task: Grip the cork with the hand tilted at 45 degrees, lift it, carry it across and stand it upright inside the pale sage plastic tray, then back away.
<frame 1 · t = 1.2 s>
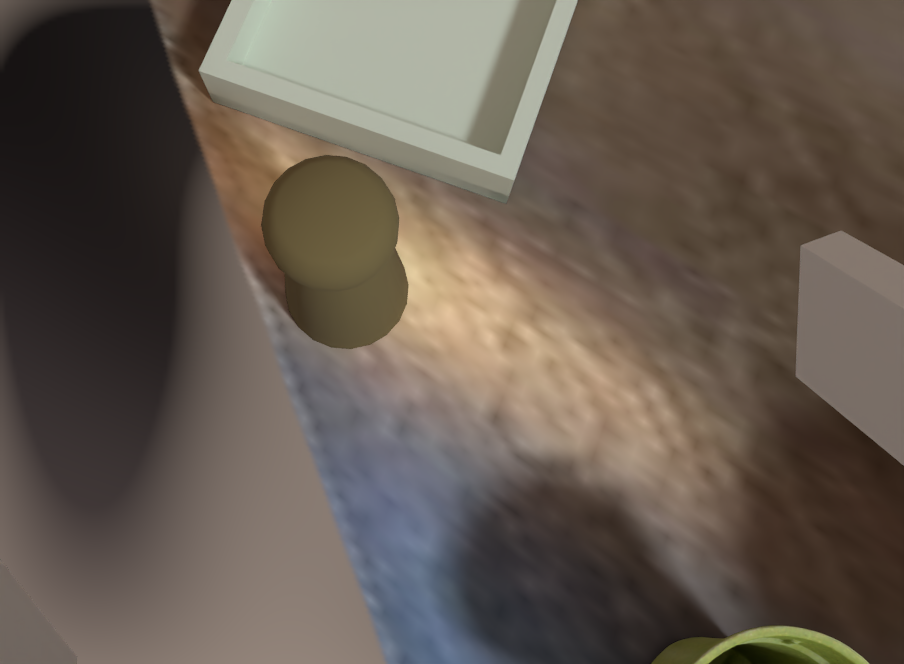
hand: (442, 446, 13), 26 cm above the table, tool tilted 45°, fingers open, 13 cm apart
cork: (347, 290, 40), on the table
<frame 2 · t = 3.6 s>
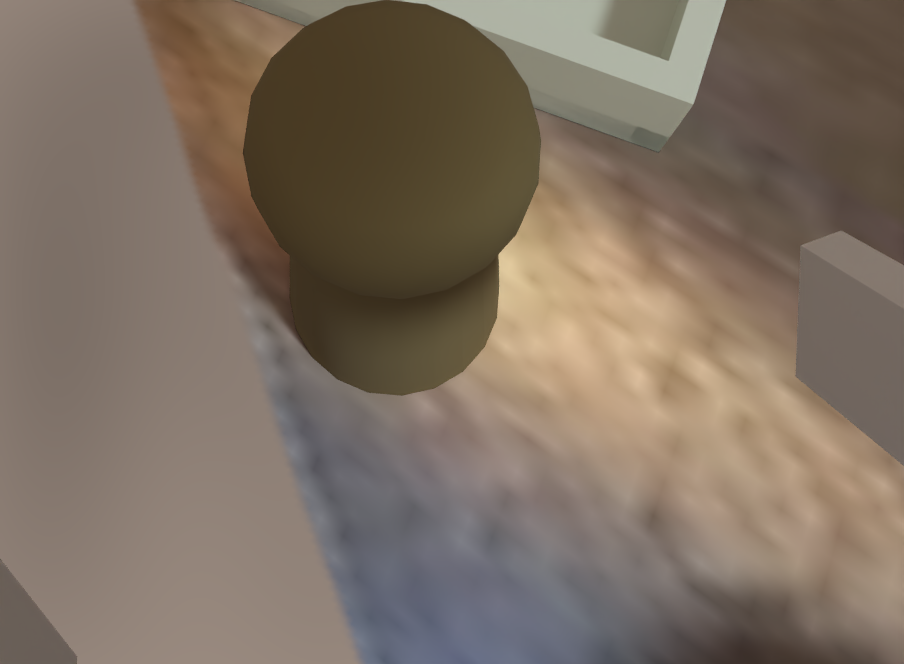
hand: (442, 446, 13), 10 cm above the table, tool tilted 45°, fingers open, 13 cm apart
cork: (395, 293, 24), on the table
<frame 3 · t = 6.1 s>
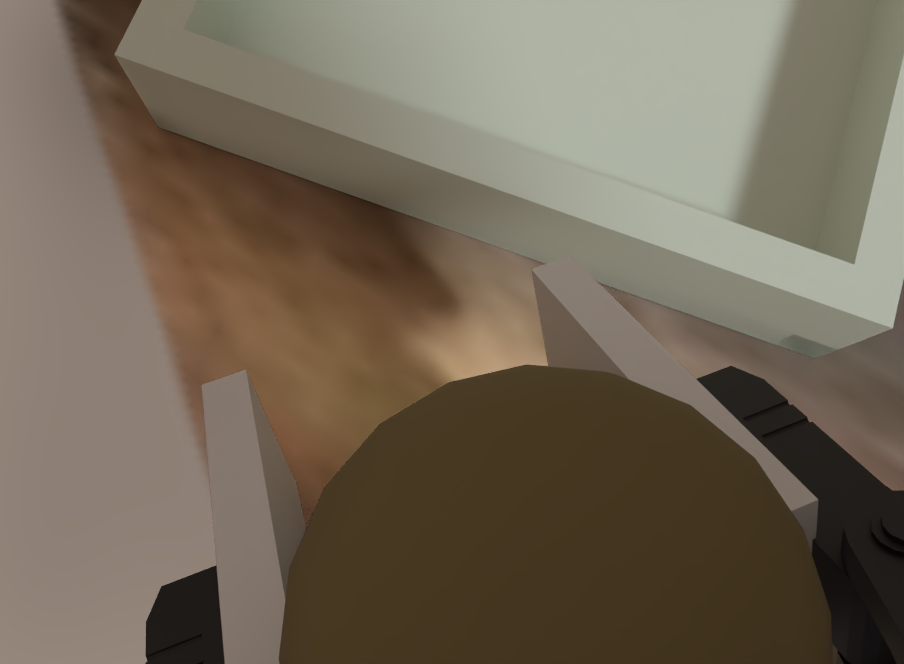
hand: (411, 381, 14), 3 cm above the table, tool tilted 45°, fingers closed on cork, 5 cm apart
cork: (468, 570, 17), on the table, touching gripper
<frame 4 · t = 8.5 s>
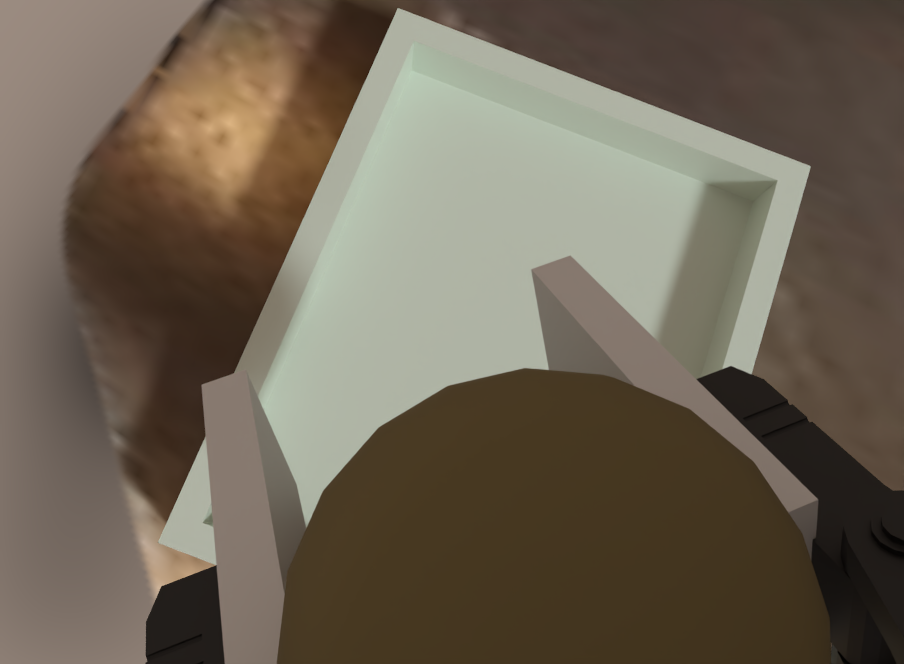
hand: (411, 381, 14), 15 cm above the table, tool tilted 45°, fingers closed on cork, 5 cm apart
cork: (467, 572, 17), point 11 cm above the table, touching gripper
tray: (499, 355, 30), on the table
when the fingers open (6 cm above the table, at t = 11.1 s): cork drops 1 cm, resting on tray.
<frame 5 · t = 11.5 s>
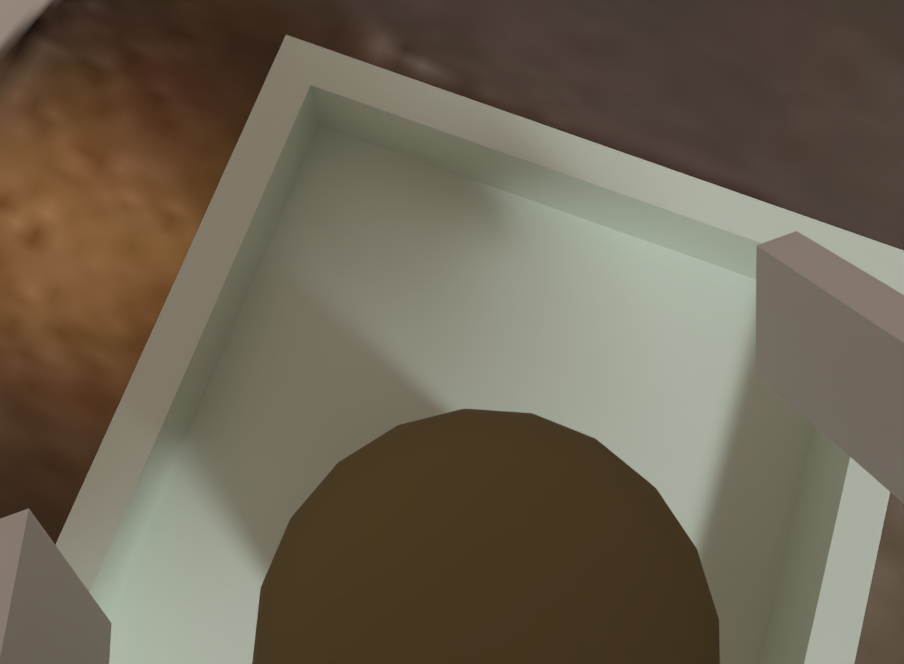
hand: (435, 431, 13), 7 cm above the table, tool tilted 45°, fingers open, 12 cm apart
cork: (441, 578, 19), point 1 cm above the table, touching tray
tray: (460, 564, 19), on the table
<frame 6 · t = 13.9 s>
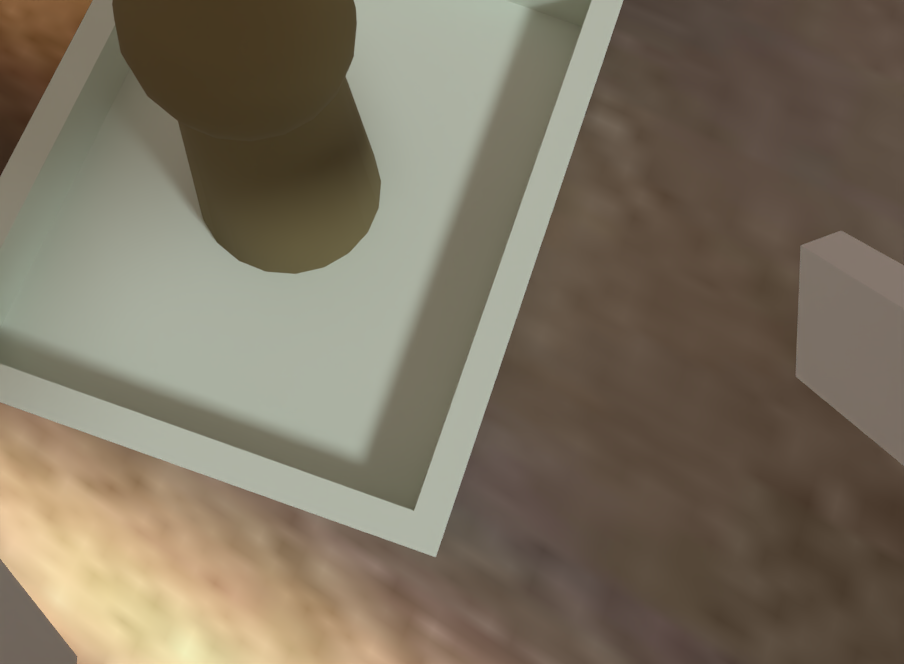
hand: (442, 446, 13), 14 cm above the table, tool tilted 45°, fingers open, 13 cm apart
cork: (290, 189, 27), point 1 cm above the table, touching tray
tray: (308, 192, 28), on the table
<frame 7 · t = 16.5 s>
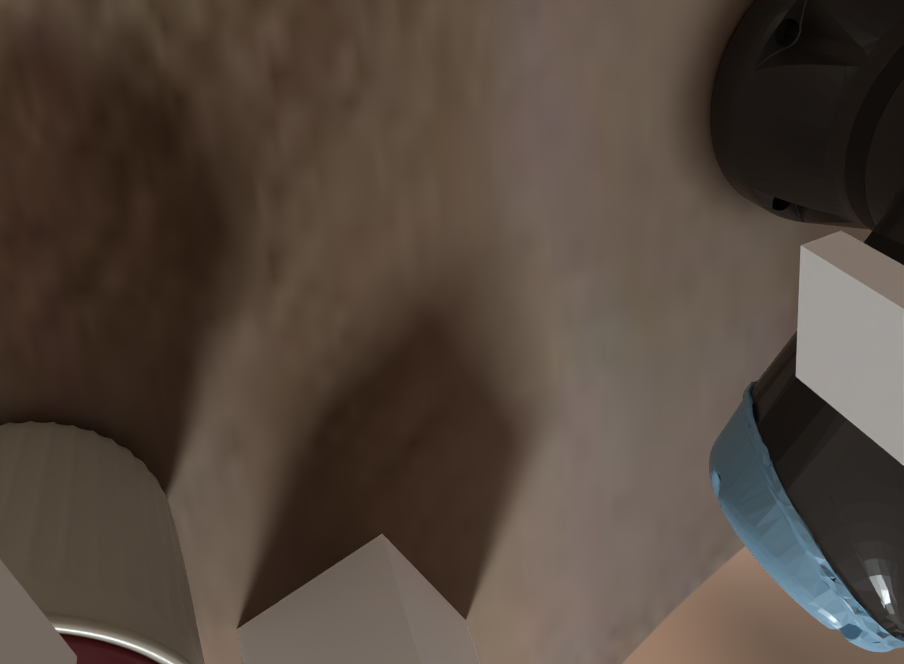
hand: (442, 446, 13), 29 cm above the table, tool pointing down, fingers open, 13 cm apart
milk: (357, 622, 57), on the table
canister: (38, 502, 44), on the table
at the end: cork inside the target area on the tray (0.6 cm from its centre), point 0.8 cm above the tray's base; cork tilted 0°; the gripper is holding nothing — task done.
